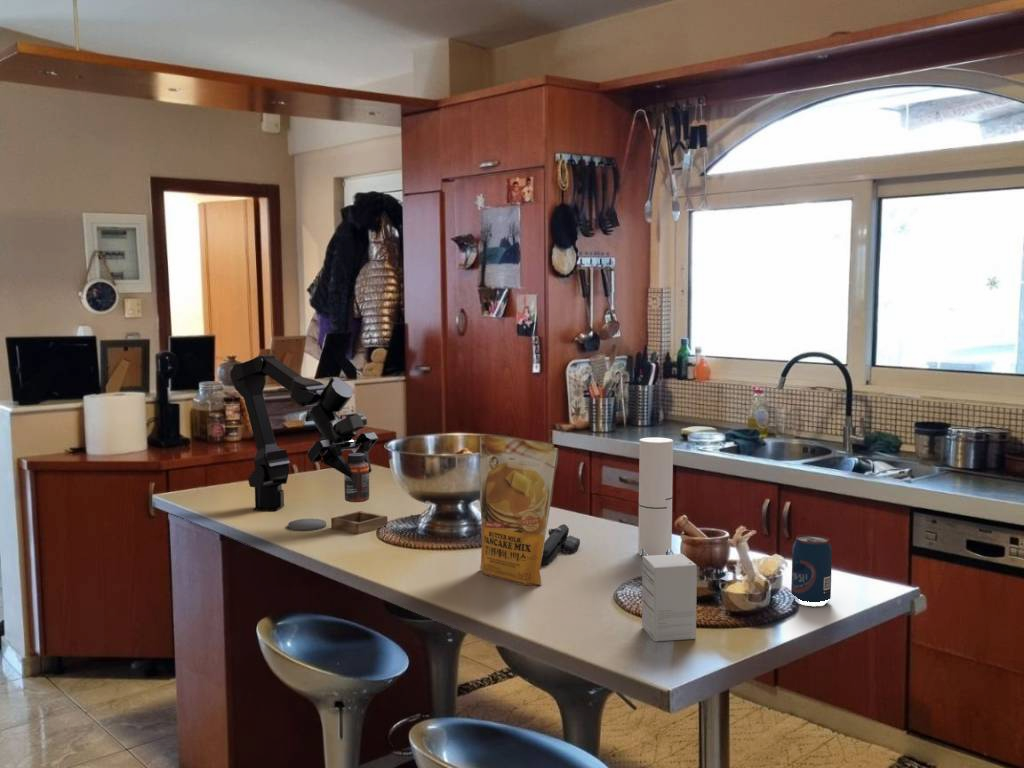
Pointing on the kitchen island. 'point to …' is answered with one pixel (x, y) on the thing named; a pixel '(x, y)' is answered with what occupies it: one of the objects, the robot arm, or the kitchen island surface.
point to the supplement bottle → (357, 479)
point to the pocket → (358, 522)
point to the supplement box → (669, 597)
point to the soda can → (811, 568)
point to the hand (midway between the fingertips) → (360, 474)
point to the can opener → (558, 544)
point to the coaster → (307, 524)
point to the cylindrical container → (655, 495)
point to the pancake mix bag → (515, 505)
